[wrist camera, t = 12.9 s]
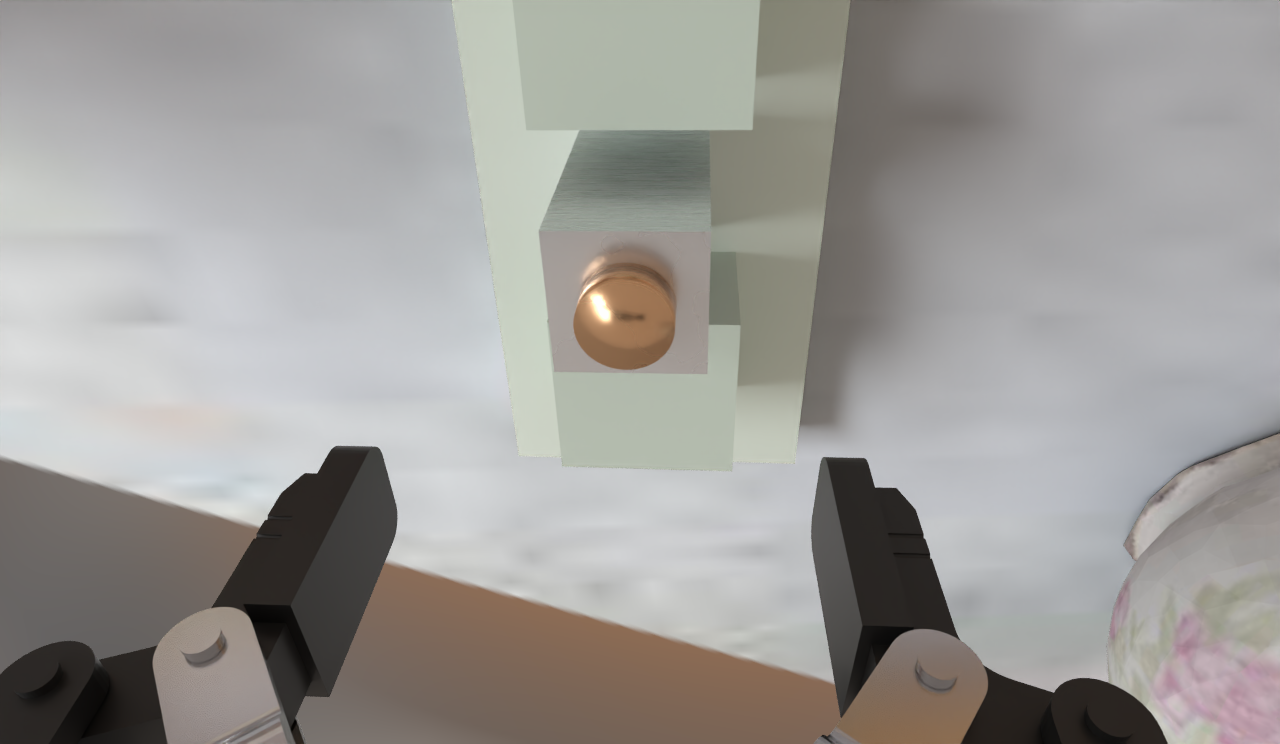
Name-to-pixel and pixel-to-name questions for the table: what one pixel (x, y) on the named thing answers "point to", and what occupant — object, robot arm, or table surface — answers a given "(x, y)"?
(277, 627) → the robot arm
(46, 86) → the table surface
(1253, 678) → the ceramic pitcher
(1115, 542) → the table surface
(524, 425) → the notch board
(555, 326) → the box with copper knob
